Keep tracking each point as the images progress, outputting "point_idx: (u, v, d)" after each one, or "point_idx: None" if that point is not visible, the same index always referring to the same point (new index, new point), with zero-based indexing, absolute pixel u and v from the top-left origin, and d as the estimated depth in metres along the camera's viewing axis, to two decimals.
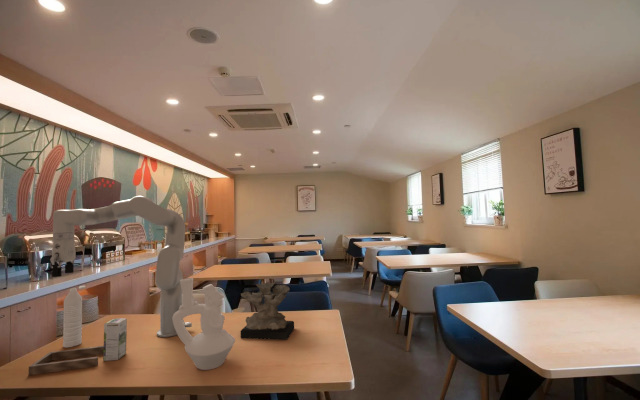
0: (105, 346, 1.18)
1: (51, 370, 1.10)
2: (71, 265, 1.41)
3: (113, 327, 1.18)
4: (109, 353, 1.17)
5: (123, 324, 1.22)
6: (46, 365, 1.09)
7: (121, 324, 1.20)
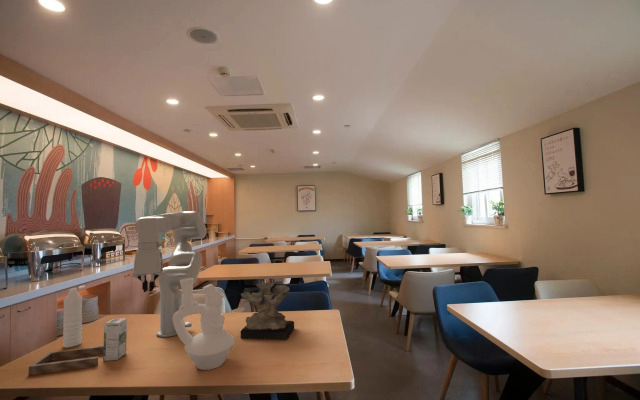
0: (105, 346, 1.18)
1: (51, 370, 1.10)
2: (147, 282, 1.26)
3: (113, 327, 1.18)
4: (109, 353, 1.17)
5: (123, 324, 1.22)
6: (46, 365, 1.09)
7: (121, 324, 1.20)
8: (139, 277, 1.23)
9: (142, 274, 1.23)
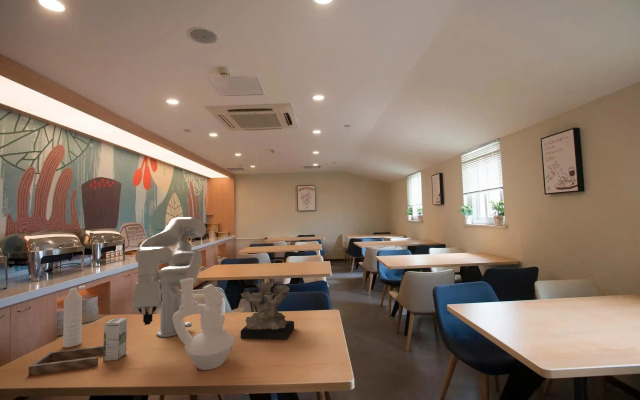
0: (105, 346, 1.18)
1: (51, 370, 1.10)
2: None
3: (113, 327, 1.18)
4: (109, 353, 1.17)
5: (123, 324, 1.22)
6: (46, 365, 1.09)
7: (121, 324, 1.20)
8: (140, 309, 1.22)
9: (141, 307, 1.22)
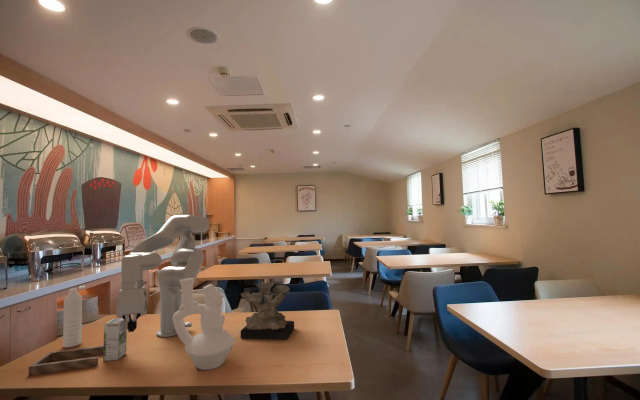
0: (105, 346, 1.18)
1: (51, 370, 1.10)
2: None
3: (113, 327, 1.18)
4: (109, 353, 1.17)
5: (123, 324, 1.22)
6: (46, 365, 1.09)
7: (121, 324, 1.20)
8: (124, 317, 1.21)
9: (125, 314, 1.21)
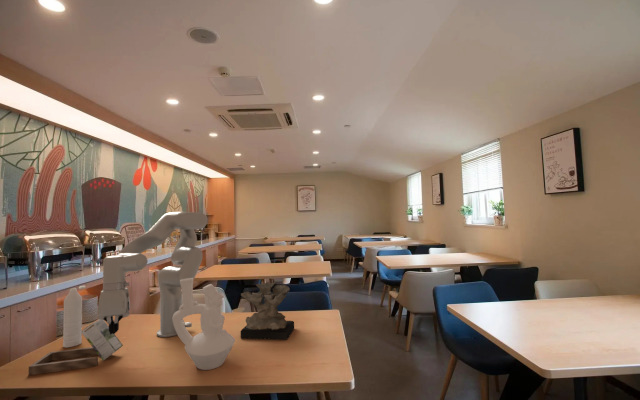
0: (96, 348, 1.17)
1: (51, 370, 1.10)
2: None
3: (91, 329, 1.18)
4: (103, 351, 1.17)
5: (100, 323, 1.21)
6: (46, 365, 1.09)
7: (98, 323, 1.20)
8: (105, 318, 1.19)
9: (107, 316, 1.19)
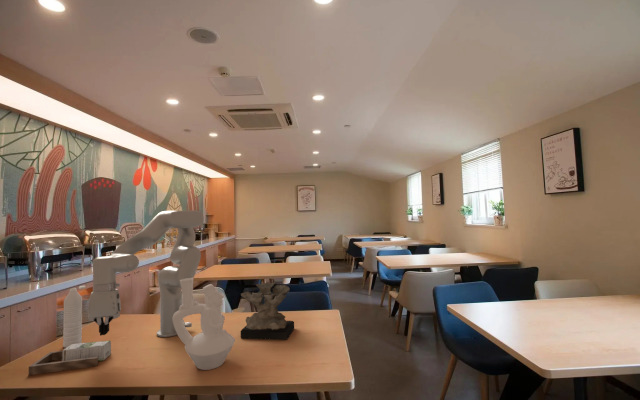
0: None
1: (51, 370, 1.10)
2: None
3: (67, 354, 1.15)
4: (95, 355, 1.17)
5: (72, 345, 1.19)
6: (46, 365, 1.09)
7: (69, 347, 1.17)
8: (95, 320, 1.19)
9: (97, 317, 1.18)
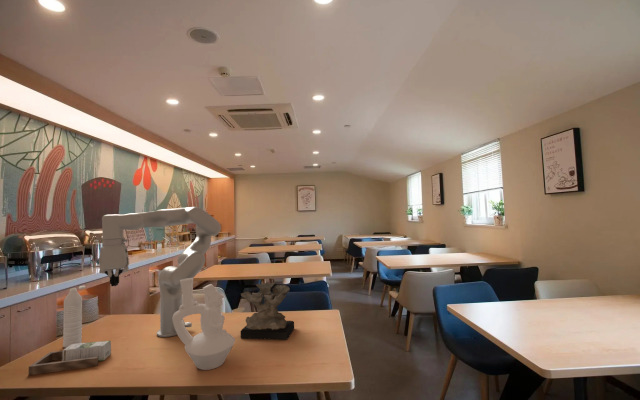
0: None
1: (51, 370, 1.10)
2: None
3: (67, 354, 1.15)
4: (95, 355, 1.17)
5: (72, 346, 1.18)
6: (46, 365, 1.09)
7: (69, 347, 1.17)
8: (106, 272, 1.28)
9: (108, 269, 1.28)
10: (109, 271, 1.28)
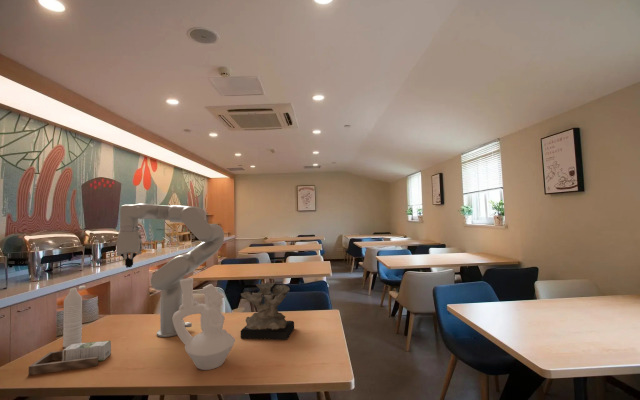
0: None
1: (51, 370, 1.10)
2: None
3: (67, 354, 1.15)
4: (95, 355, 1.17)
5: (72, 346, 1.18)
6: (46, 365, 1.09)
7: (69, 347, 1.17)
8: (122, 255, 1.46)
9: (123, 252, 1.46)
10: (125, 254, 1.46)
